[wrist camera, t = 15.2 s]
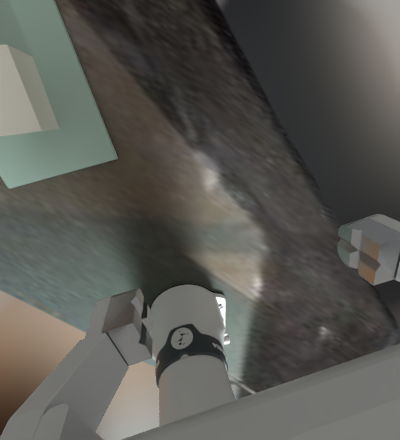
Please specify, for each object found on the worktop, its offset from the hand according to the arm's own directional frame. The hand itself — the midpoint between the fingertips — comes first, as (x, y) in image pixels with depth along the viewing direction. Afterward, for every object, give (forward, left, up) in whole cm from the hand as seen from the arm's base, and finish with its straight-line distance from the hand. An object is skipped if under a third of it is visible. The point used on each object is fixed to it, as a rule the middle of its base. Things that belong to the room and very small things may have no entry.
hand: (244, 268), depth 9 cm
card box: (+12, +17, -28) cm, 35 cm away
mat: (+12, +17, -29) cm, 36 cm away
